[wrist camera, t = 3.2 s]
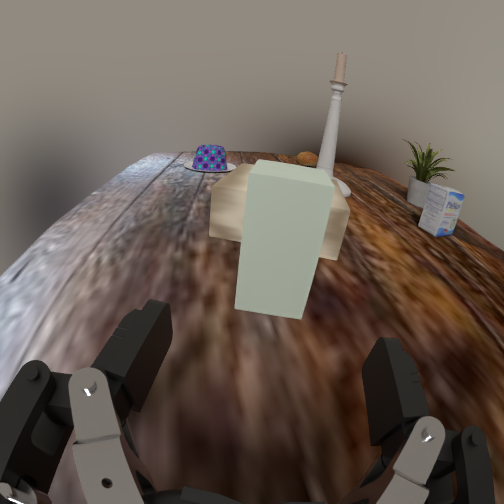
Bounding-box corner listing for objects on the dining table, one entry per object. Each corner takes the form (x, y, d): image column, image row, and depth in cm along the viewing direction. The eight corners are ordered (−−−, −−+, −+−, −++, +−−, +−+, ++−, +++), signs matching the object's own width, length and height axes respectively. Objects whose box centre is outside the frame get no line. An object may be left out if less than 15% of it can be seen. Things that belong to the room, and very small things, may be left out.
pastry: (320, 170, 75) (322, 157, 73) (297, 166, 75) (299, 153, 73) (315, 164, 83) (317, 152, 81) (295, 160, 83) (296, 149, 81)
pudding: (173, 166, 60) (174, 144, 57) (214, 161, 67) (216, 142, 65) (203, 177, 53) (204, 151, 50) (246, 172, 60) (249, 149, 58)
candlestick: (306, 176, 63) (324, 57, 49) (356, 191, 58) (378, 65, 43) (280, 183, 54) (300, 40, 39) (340, 201, 48) (366, 46, 33)
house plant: (405, 209, 52) (423, 137, 44) (378, 189, 64) (391, 129, 56) (447, 218, 53) (465, 155, 45) (419, 198, 65) (432, 144, 57)
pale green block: (300, 281, 24) (324, 170, 19) (301, 319, 20) (335, 187, 15) (244, 272, 24) (258, 159, 20) (234, 308, 20) (249, 172, 15)
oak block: (328, 217, 41) (336, 179, 38) (335, 262, 29) (350, 210, 26) (238, 200, 42) (242, 163, 39) (209, 238, 30) (212, 185, 27)
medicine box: (434, 237, 40) (449, 191, 36) (416, 226, 43) (430, 182, 39) (451, 235, 43) (465, 194, 38) (435, 225, 46) (448, 186, 42)
